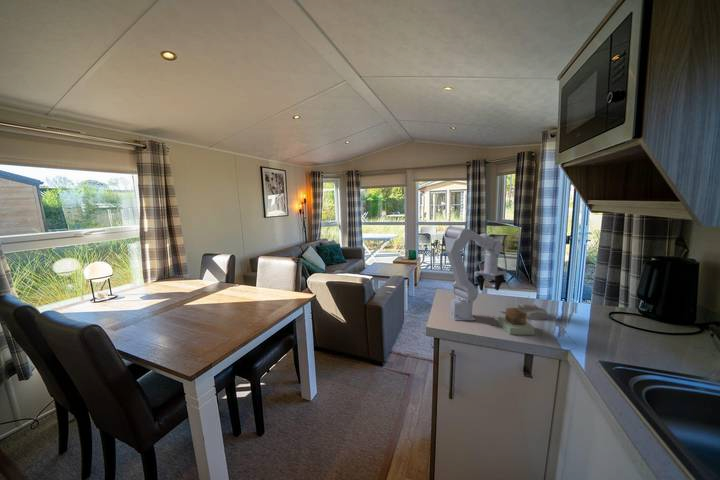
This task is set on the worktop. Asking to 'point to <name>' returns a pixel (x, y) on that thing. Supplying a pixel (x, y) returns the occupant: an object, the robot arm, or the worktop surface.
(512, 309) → the walnut block
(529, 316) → the stone block
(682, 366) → the worktop surface
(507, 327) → the base block
